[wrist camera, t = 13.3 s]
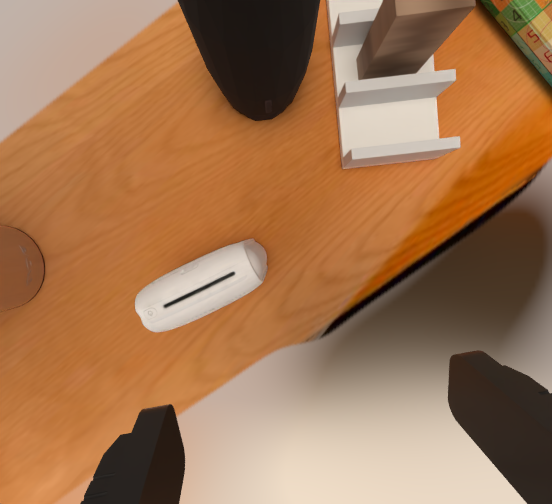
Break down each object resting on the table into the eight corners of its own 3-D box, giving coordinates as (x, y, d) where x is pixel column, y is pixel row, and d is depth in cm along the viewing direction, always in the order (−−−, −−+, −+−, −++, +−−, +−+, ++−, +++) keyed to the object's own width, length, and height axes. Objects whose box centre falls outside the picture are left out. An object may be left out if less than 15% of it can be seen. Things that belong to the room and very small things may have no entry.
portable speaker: (221, 35, 32) (136, -270, 13) (310, 49, 32) (362, -233, 13) (210, 118, 33) (111, -51, 13) (297, 132, 33) (328, -16, 13)
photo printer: (190, 308, 34) (141, 351, 22) (172, 273, 34) (112, 297, 22) (273, 268, 34) (271, 290, 21) (256, 232, 34) (244, 234, 21)
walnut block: (358, 84, 31) (396, 16, 21) (356, 59, 31) (392, -22, 21) (412, 77, 31) (475, 5, 21) (410, 51, 31) (472, -33, 21)
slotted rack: (342, 169, 33) (352, 159, 28) (324, -18, 32) (332, -59, 27) (435, 158, 33) (460, 147, 28) (421, -29, 32) (445, -72, 27)
